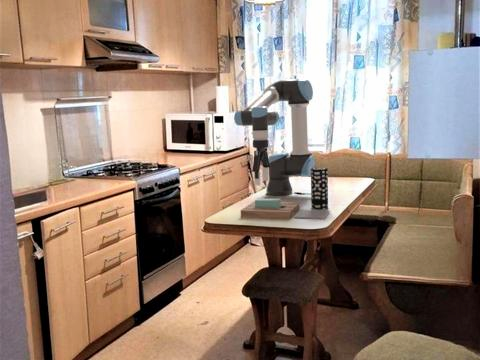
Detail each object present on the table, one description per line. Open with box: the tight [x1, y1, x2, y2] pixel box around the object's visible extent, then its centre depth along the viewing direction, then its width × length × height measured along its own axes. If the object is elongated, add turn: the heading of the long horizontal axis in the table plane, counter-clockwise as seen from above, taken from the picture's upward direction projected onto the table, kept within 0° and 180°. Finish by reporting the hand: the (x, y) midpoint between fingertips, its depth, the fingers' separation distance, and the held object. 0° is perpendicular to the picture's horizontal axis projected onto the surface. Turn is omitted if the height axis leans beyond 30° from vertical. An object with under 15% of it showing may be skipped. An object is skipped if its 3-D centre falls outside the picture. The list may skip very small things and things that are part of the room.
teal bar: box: [254, 198, 282, 208], centre depth 250 cm, size 4×12×5 cm, turn 71°
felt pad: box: [294, 209, 331, 220], centre depth 244 cm, size 14×14×1 cm
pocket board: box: [240, 200, 301, 220], centre depth 250 cm, size 20×24×4 cm
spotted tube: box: [310, 166, 329, 211], centre depth 257 cm, size 8×8×20 cm
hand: (261, 183), depth 249 cm, fingers open, 13 cm apart
